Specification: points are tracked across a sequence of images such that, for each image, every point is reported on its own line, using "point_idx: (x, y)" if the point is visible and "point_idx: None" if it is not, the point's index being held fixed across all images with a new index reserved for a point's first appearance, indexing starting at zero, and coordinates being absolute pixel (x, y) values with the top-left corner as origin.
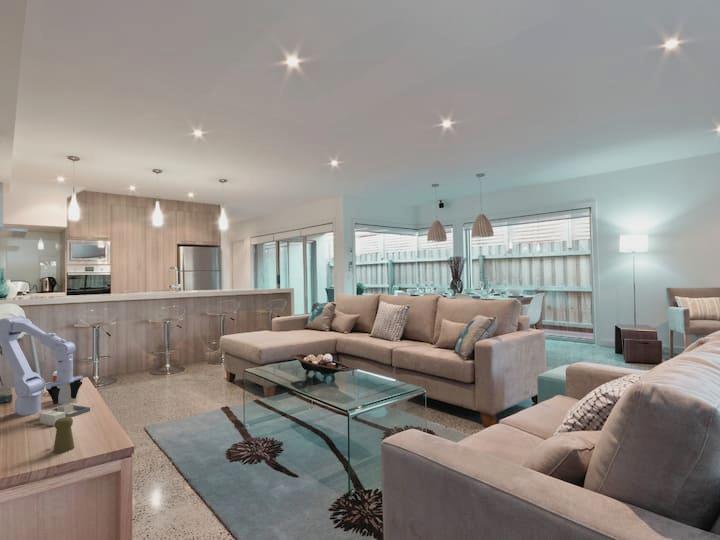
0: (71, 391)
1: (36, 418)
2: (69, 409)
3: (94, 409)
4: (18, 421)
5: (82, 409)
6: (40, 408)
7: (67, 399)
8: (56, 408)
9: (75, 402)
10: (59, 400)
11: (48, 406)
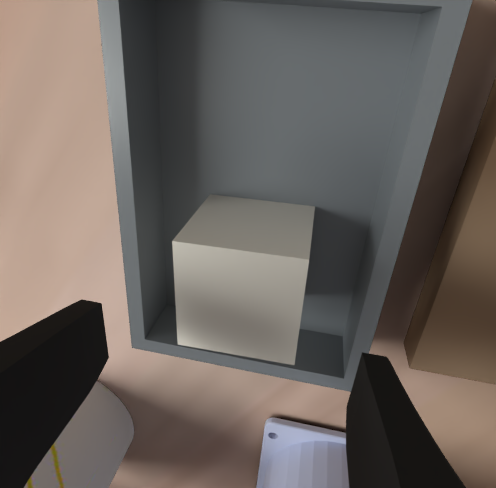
0: (38, 449)
1: (479, 375)
2: (241, 221)
3: (27, 97)
4: None
5: (143, 112)
6: (290, 484)
7: (69, 436)
8: (267, 368)
9: None
10: (108, 473)
11: (154, 484)
